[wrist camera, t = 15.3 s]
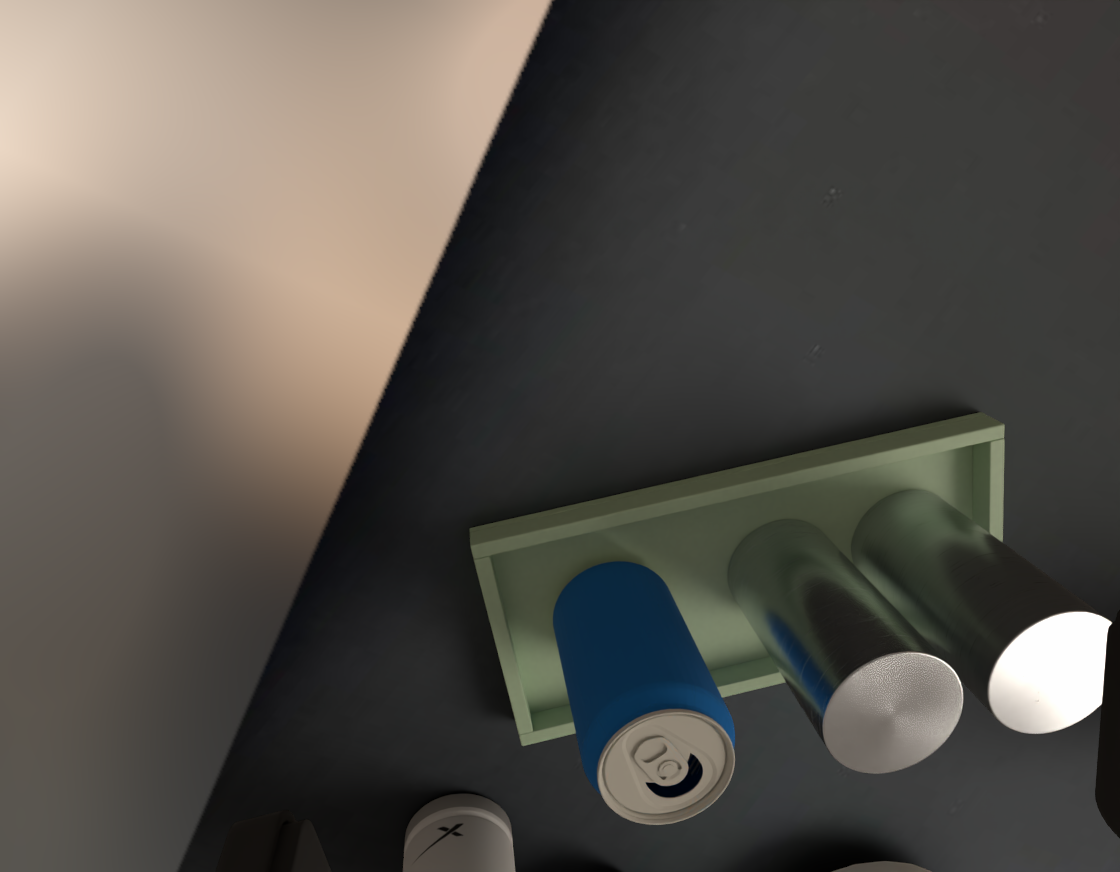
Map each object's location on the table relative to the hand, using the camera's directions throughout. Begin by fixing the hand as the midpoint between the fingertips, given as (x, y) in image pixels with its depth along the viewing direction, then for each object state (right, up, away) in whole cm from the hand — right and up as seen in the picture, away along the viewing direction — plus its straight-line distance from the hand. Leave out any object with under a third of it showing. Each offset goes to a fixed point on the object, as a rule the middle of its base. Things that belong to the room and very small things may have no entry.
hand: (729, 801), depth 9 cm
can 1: (+10, -3, +35) cm, 36 cm away
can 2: (+17, -1, +35) cm, 39 cm away
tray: (+8, -3, +35) cm, 36 cm away
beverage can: (+1, -5, +34) cm, 34 cm away
